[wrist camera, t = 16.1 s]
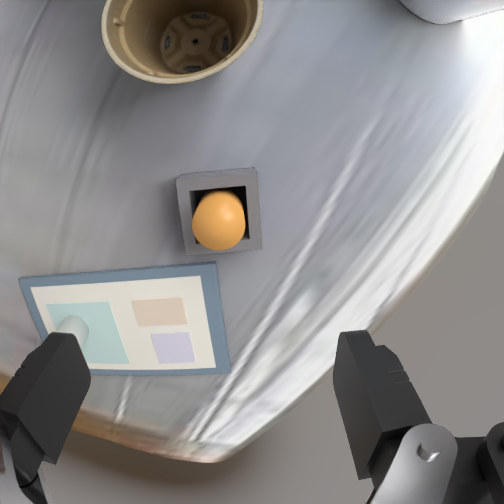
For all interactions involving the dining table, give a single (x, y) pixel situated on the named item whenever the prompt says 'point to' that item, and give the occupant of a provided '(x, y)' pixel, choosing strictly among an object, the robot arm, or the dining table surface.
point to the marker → (74, 328)
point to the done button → (219, 219)
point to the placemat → (138, 318)
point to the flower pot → (178, 36)
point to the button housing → (219, 180)
